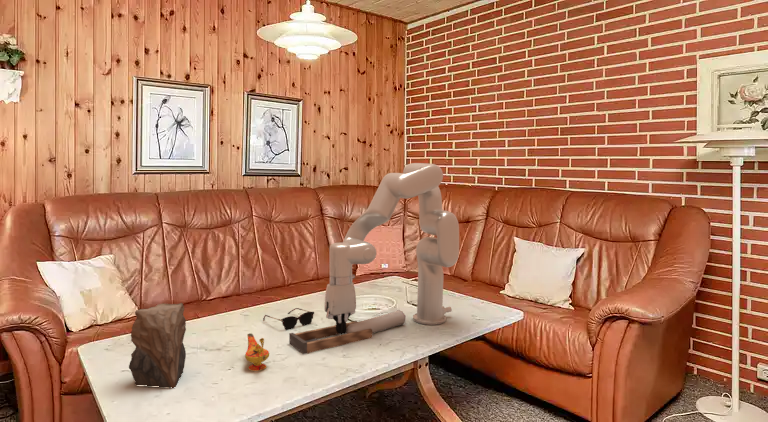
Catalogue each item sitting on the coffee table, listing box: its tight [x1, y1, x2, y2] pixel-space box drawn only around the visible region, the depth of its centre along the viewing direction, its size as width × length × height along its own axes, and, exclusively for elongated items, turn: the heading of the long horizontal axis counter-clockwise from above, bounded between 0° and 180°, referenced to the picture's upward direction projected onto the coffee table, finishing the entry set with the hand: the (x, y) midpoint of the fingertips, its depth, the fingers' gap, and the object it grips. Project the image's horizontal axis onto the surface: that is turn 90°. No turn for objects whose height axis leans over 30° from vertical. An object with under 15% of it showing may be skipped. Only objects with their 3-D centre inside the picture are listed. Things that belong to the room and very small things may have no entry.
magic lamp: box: [244, 332, 270, 372], centre depth 149 cm, size 7×18×11 cm, turn 27°
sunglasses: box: [263, 307, 315, 331], centre depth 188 cm, size 14×16×5 cm
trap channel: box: [288, 320, 373, 355], centre depth 169 cm, size 26×10×4 cm, turn 125°
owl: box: [128, 302, 187, 389], centre depth 139 cm, size 13×13×20 cm
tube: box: [345, 309, 406, 335], centre depth 179 cm, size 5×5×25 cm
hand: (341, 332), depth 171 cm, fingers closed
